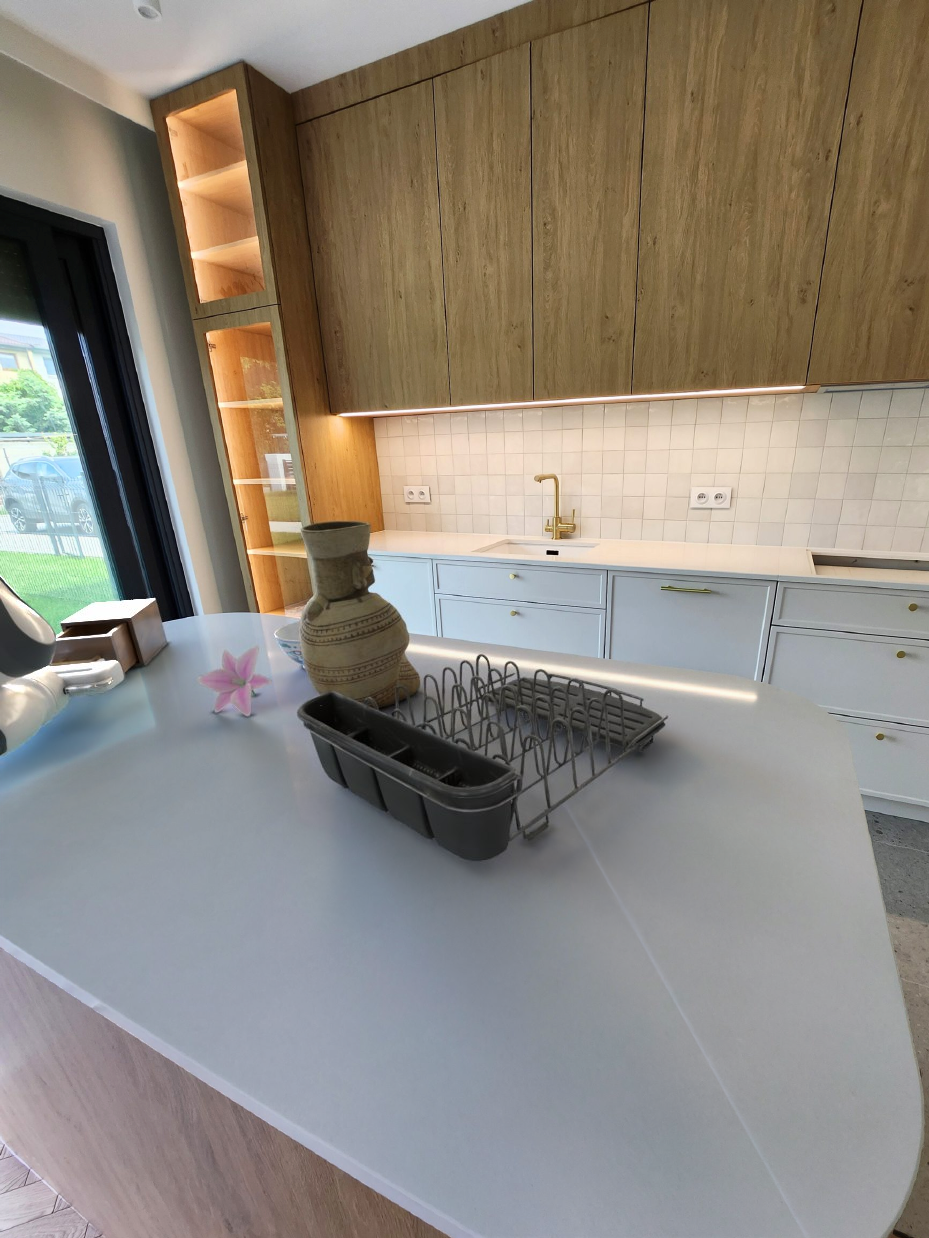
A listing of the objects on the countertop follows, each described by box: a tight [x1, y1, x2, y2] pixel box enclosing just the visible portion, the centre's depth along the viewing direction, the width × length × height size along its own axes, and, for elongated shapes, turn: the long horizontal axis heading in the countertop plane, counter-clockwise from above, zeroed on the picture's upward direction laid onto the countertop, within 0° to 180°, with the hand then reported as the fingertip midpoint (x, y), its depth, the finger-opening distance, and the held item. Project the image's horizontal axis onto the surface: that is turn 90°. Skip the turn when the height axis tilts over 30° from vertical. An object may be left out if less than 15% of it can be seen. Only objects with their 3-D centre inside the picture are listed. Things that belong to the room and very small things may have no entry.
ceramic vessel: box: [299, 520, 421, 709], centre depth 98 cm, size 19×21×30 cm
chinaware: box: [274, 620, 306, 670], centre depth 118 cm, size 15×15×8 cm
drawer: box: [48, 621, 139, 679], centre depth 114 cm, size 19×11×9 cm, turn 13°
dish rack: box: [296, 653, 669, 862], centre depth 79 cm, size 34×44×12 cm
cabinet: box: [59, 598, 168, 669], centre depth 125 cm, size 16×13×11 cm
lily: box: [197, 645, 272, 717], centre depth 101 cm, size 12×12×10 cm
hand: (71, 665), depth 105 cm, fingers open, 8 cm apart
